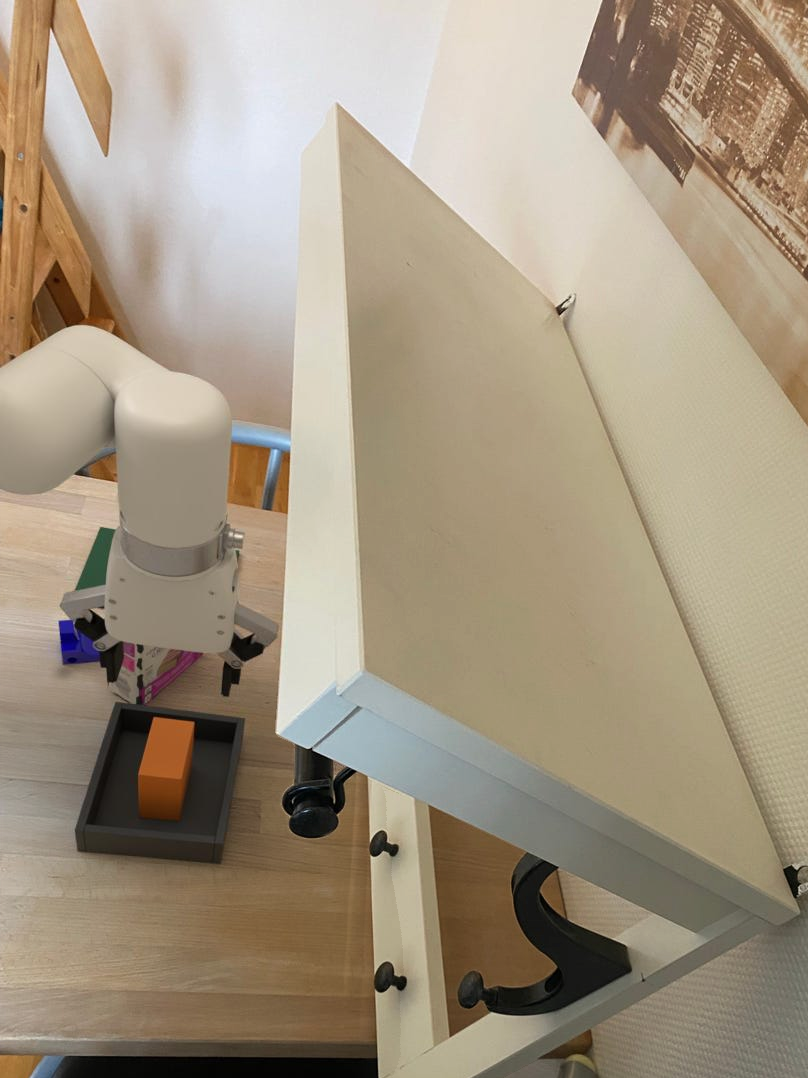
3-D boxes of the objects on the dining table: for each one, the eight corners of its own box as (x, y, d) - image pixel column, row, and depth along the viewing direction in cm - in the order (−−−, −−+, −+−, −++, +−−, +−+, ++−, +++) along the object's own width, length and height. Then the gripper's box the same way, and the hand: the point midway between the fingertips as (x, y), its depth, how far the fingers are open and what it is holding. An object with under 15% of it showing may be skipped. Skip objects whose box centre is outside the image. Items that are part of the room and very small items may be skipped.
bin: (77, 853, 83) (74, 830, 80) (116, 725, 93) (115, 701, 90) (220, 865, 86) (223, 844, 83) (242, 741, 97) (245, 717, 94)
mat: (70, 603, 103) (70, 600, 103) (100, 529, 113) (100, 526, 112) (223, 626, 107) (223, 623, 107) (239, 553, 117) (239, 550, 116)
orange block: (138, 817, 87) (137, 774, 81) (153, 761, 91) (153, 716, 86) (179, 821, 88) (181, 779, 82) (191, 765, 92) (194, 721, 87)
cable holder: (63, 666, 97) (60, 643, 94) (61, 644, 99) (58, 620, 96) (138, 659, 100) (137, 637, 97) (134, 637, 102) (134, 615, 99)
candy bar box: (142, 713, 95) (141, 613, 84) (106, 691, 96) (100, 589, 85) (206, 656, 103) (213, 557, 92) (173, 636, 104) (176, 535, 93)
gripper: (293, 522, 69) (274, 660, 81) (65, 483, 65) (81, 634, 77) (283, 585, 64) (265, 722, 76) (35, 547, 60) (57, 698, 72)
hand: (172, 677), depth 76 cm, fingers open, 9 cm apart
